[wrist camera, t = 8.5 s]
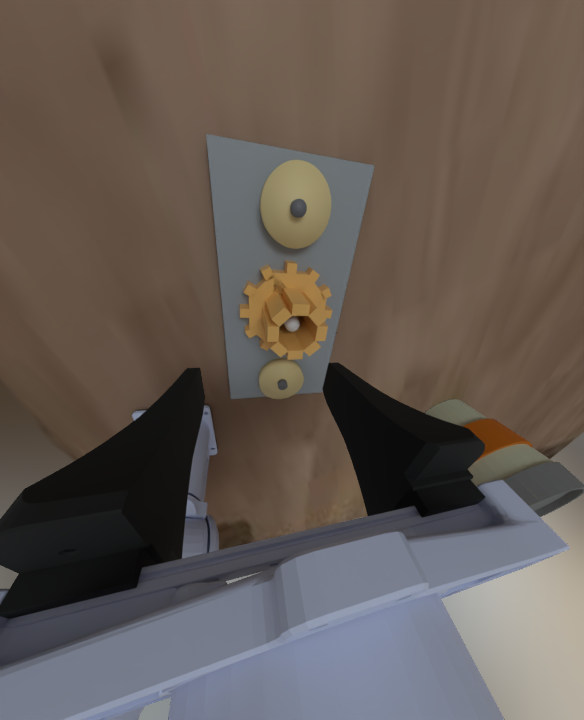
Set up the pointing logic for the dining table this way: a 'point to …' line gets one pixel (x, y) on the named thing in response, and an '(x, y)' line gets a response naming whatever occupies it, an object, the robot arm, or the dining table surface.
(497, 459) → the reusable coffee cup
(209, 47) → the dining table surface
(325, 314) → the amber gear
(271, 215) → the gear board
